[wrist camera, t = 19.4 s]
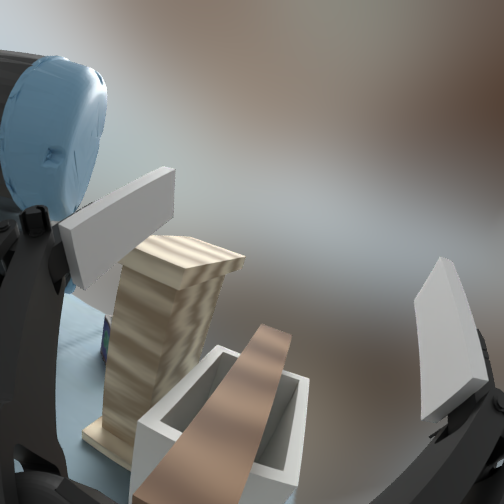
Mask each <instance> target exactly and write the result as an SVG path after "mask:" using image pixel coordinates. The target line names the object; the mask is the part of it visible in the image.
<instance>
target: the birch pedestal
mask: <svg viewBox="0 0 504 504" xmlns="http://www.w3.org/2000/svg"><path fill="white" fill-rule="evenodd" d="M245 258H246V256H243V255H240V254H237V253H235V252H232V251H229V250H226V249H223V248H220V247H218V246H215V245H212V244H209V243H206V242H204V241H201V240H198V239H195V238H192V237H185V236H159V235H150V236H149V237H148V238H147V239H145V240H144V241H143V242H142V243H140V244H139V245H138V246H137V247H135V248H134V249H133V250H132V251H131V252H129V253H128V254H127V255H126V256H124V257H123V258H122V259H121V260H120V261H119V262H118V263H120V264H122V265H123V267H122V271H121V276H120V281H119V286H118V291H117V296H116V301H115V307H114V313H113V319H112V325H111V331H110V338H109V346H108V354H107V362H106V372H105V382H104V395H103V412H102V416H101V417H100V418H98V419H97V420H96V421H94V422H93V423H92V424H90V425H89V426H87V427H86V428H85V429H83V430H82V439H83V440H85V441H86V442H87V443H89V444H90V445H91V446H93V447H94V448H95V449H97V450H98V451H100V452H101V453H102V454H104V455H105V456H107V457H108V458H110V459H111V460H113V461H114V462H116V463H117V464H119V465H121V466H122V467H124V468H125V469H127V470H129V471H130V472H131V468H132V459H133V450H134V442H135V435H136V428H137V421H138V420H139V419H140V418H141V417H142V416H143V415H144V414H146V413H147V412H148V411H149V410H150V409H151V408H152V407H153V406H154V405H155V404H156V403H157V402H158V401H160V400H161V399H162V398H163V397H164V396H165V395H166V394H167V393H168V392H169V391H170V390H171V389H172V388H173V387H174V386H175V385H176V384H177V383H178V382H180V381H181V380H182V379H183V378H184V377H185V376H186V375H187V374H188V373H189V372H190V371H191V370H192V369H193V368H194V367H195V366H196V365H197V364H198V363H199V359H200V356H201V353H202V349H203V345H204V343H205V339H206V336H207V332H208V329H209V326H210V322H211V319H212V316H213V313H214V310H215V306H216V303H217V300H218V296H219V293H220V290H221V287H222V284H223V280H224V277H225V274H228V273H230V272H233V271H236V270H239V269H242V267H243V264H244V261H245Z"/></svg>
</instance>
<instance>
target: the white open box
mask: <svg viewBox="0 0 504 504" xmlns="http://www.w3.org/2000/svg"><path fill="white" fill-rule="evenodd" d="M240 355H241V354H239V353H237V352H234V351H232V350H229V349H227V348H225V347H222V346H220V345H216V346H215V347H214V348H213V349H212V350H211V351H210V352H209V353H208V354H207V355H206V356H205V357H204V358H203V359H202V360H201V361H200V362H199V363H198V364H197V365H196V366H195V367H194V368H193V369H192V370H191V371H190V372H189V373H188V374H187V375H186V376H185V377H184V378H183V379H182V380H181V381H180V382H178V383H177V384H176V385H175V386H174V387H173V388H172V389H171V390H170V391H169V392H168V393H167V394H166V395H165V396H164V397H163V398H162V399H161V400H160V401H158V402H157V403H156V404H155V405H154V406H153V407H152V408H151V409H150V410H149V411H148V412H147V413H146V414H144V415H143V416H142V417H141V418H140V419H139V420H138V421H137V428H136V435H135V442H134V450H133V459H132V468H131V477H130V489H129V502H128V504H132V495H133V493H134V492H135V491H136V490H137V489H138V488H139V486H140V485H141V484H142V483H143V482H144V481H145V479H146V478H147V477H148V476H149V475H150V473H151V472H152V471H153V470H154V468H155V467H156V466H157V465H158V464H159V462H160V461H161V460H162V459H163V457H164V456H165V455H166V454H167V452H168V451H169V450H170V449H171V447H172V446H173V445H174V444H175V442H176V441H177V440H178V438H179V437H180V436H181V435H182V433H183V432H184V431H185V429H186V428H187V427H188V426H189V424H190V423H191V422H192V420H193V419H194V418H195V416H196V415H197V414H198V412H199V411H200V410H201V408H202V407H203V406H204V404H205V403H206V402H207V400H208V399H209V398H210V396H211V395H212V394H213V392H214V391H215V389H216V388H217V387H218V385H219V384H220V383H221V381H222V380H223V378H224V377H225V376H226V374H227V373H228V372H229V370H230V369H231V367H232V366H233V364H234V363H235V362H236V360H237V359H238V357H239V356H240ZM308 390H309V378H306V377H303V376H299V375H296V374H294V373H290V372H288V371H285V370H282V374H281V377H280V381H279V384H278V388H277V391H276V394H275V398H274V401H273V404H272V407H271V411H270V414H269V417H268V420H267V423H266V426H265V429H264V433H263V436H262V439H261V442H260V445H259V448H258V450H257V453H256V456H255V459H254V462H253V465H252V468H251V470H250V473H249V476H248V479H247V481H246V484H245V487H244V490H243V492H242V495H241V497H240V500H239V503H238V504H284V503H285V502H286V500H287V499H288V498H289V497H290V496H291V494H292V493H293V492H294V491H295V489H296V488H297V487H298V481H299V474H300V467H301V459H302V451H303V442H304V433H305V424H306V413H307V402H308Z"/></svg>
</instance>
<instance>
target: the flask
mask: <svg viewBox="0 0 504 504" xmlns="http://www.w3.org/2000/svg"><path fill="white" fill-rule="evenodd" d="M112 319H113V316H112V315H105V319H104V327H103V335H102V343H101V354H102V356H103V361H104V362H105V365H106V362H107V354H108V346H109V338H110V331H111V325H112Z"/></svg>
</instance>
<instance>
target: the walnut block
mask: <svg viewBox="0 0 504 504" xmlns="http://www.w3.org/2000/svg"><path fill="white" fill-rule="evenodd" d="M291 338H292V335H291V334H288V333H285V332H282V331H280V330H277V329H274V328H271V327H269V326H266V325H263V324H261V326H260V327H259V329H258V330H257V331H256V333H255V334H254V336H253V337H252V339H251V340H250V342H249V343H248V345H247V346H246V347H245V349H244V350H243V352H242V353H241V355H240V356H239V357H238V359H237V360H236V362H235V363H234V364H233V366H232V367H231V369H230V370H229V372H228V373H227V374H226V376H225V377H224V378H223V380H222V381H221V383H220V384H219V385H218V387H217V388H216V389H215V391H214V392H213V394H212V395H211V396H210V398H209V399H208V400H207V402H206V403H205V404H204V406H203V407H202V408H201V410H200V411H199V412H198V414H197V415H196V416H195V418H194V419H193V420H192V422H191V423H190V424H189V426H188V427H187V428H186V429H185V431H184V432H183V433H182V435H181V436H180V437H179V438H178V440H177V441H176V442H175V444H174V445H173V446H172V447H171V449H170V450H169V451H168V452H167V454H166V455H165V456H164V457H163V459H162V460H161V461H160V462H159V464H158V465H157V466H156V467H155V468H154V470H153V471H152V472H151V473H150V475H149V476H148V477H147V478H146V479H145V481H144V482H143V483H142V484H141V485H140V486H139V488H138V489H137V490H136V491H135V492H134V493H133V495H132V504H238V503H239V500H240V497H241V495H242V492H243V490H244V487H245V484H246V481H247V479H248V476H249V473H250V470H251V468H252V465H253V462H254V459H255V456H256V453H257V450H258V448H259V445H260V442H261V439H262V436H263V433H264V429H265V426H266V423H267V420H268V417H269V414H270V411H271V407H272V404H273V401H274V398H275V394H276V391H277V388H278V384H279V381H280V377H281V374H282V370H283V367H284V363H285V360H286V356H287V353H288V349H289V345H290V341H291Z"/></svg>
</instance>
